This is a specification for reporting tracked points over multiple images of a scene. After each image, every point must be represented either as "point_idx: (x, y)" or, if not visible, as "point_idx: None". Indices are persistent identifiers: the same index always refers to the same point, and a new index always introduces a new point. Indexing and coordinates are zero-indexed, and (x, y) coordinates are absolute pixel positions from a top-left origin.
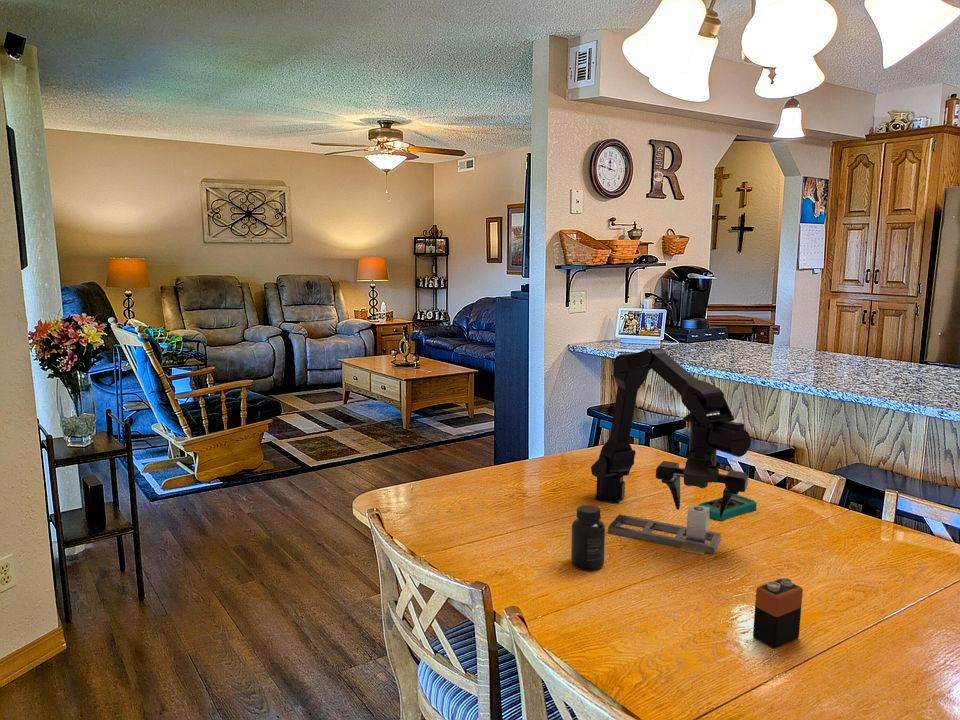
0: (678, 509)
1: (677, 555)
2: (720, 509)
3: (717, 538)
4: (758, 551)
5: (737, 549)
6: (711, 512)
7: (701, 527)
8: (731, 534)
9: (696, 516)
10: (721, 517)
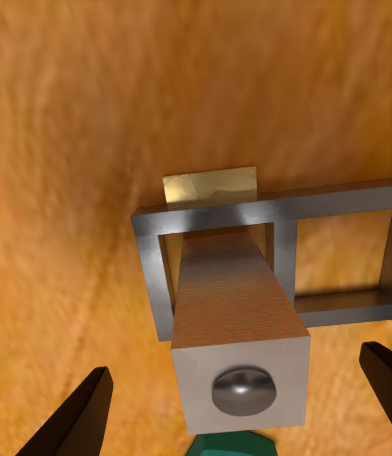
0: (365, 344)
1: (251, 109)
2: (74, 421)
3: (152, 299)
4: (37, 308)
5: (92, 288)
6: (233, 448)
7: (198, 280)
8: (149, 370)
9: (235, 315)
10: (96, 367)
